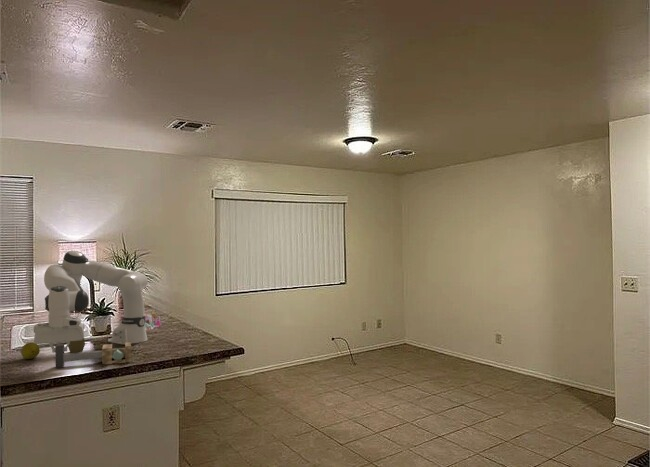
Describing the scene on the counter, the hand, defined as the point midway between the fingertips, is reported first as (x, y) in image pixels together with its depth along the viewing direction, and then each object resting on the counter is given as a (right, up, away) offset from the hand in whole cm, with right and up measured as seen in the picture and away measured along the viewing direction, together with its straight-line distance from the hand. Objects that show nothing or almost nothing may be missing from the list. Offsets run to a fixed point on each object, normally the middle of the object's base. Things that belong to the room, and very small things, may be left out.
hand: (59, 351), depth 217 cm
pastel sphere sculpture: (+2, -8, +93) cm, 93 cm away
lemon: (-23, -8, +16) cm, 29 cm away
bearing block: (+22, -7, +9) cm, 25 cm away
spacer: (+22, -6, +9) cm, 24 cm away
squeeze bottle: (-7, -8, +28) cm, 30 cm away
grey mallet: (+9, -7, +4) cm, 12 cm away
